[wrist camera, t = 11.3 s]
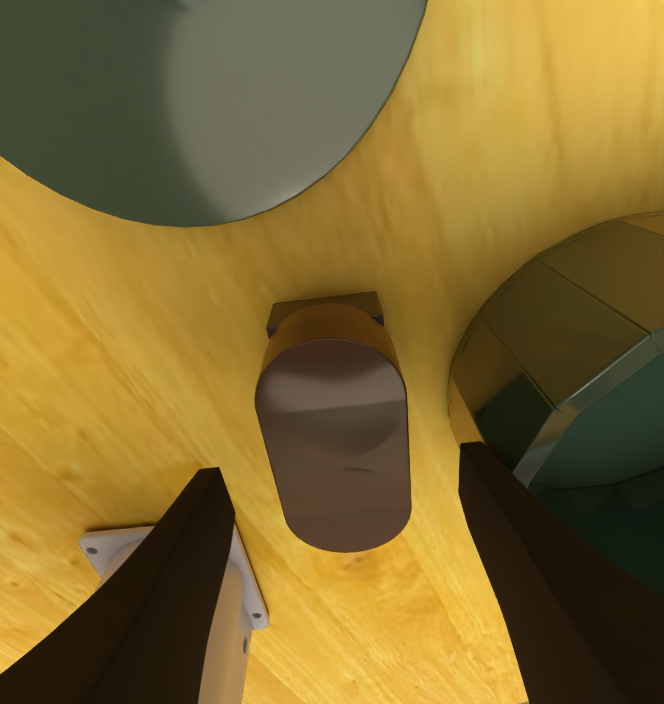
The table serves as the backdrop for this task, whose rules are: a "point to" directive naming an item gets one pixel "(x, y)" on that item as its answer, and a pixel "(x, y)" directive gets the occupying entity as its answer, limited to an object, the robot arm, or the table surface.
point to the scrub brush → (336, 422)
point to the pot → (578, 386)
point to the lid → (194, 98)
